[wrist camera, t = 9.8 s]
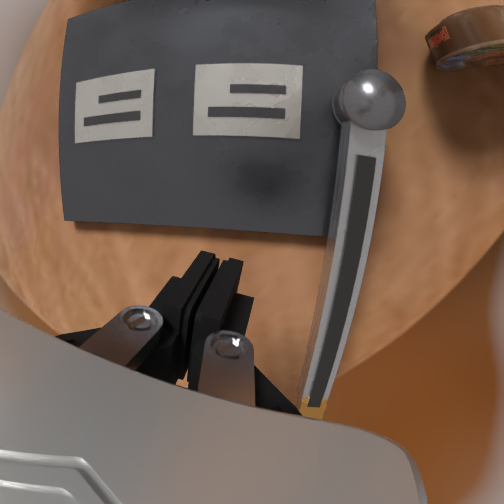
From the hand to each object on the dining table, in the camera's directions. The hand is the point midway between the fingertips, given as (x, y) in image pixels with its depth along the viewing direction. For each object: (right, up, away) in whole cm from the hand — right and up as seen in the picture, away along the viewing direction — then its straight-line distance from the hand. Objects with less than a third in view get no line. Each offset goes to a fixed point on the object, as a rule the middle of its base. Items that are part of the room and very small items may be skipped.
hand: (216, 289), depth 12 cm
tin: (+20, +18, +3) cm, 27 cm away
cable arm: (+7, +1, +8) cm, 11 cm away
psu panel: (-2, +12, +8) cm, 14 cm away
